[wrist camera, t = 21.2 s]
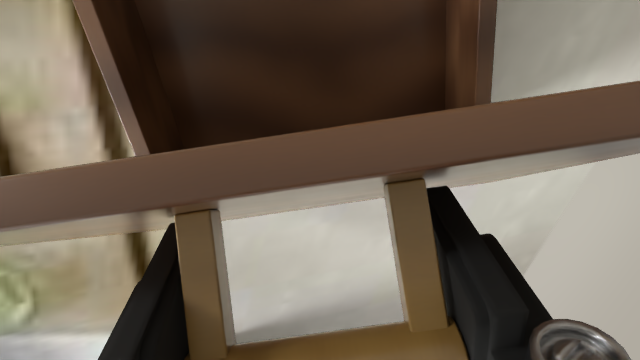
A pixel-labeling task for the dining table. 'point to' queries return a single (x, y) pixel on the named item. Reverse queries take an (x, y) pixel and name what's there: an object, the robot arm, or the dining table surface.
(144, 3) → the chest
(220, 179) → the chest lid
